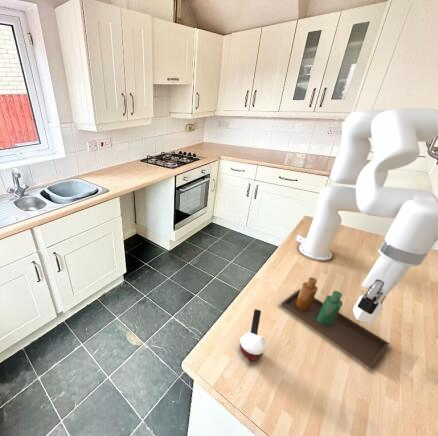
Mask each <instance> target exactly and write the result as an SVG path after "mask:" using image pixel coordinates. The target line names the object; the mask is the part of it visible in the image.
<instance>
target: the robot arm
mask: <svg viewBox="0 0 438 436" xmlns="http://www.w3.org/2000/svg"><path fill="white" fill-rule="evenodd" d="M437 137H438V109H436V108H391V109H362V110H356V111H353V112H351V113H350V114H348V116H347V117H346V118H345V120H344V122H343V124H342V127H341V145H340V148H339V151H338V153H337V156H336V159H335V163H334V165H333V168H332V171H331V175H330V176H331V177H330V178H331V180H332V182H334V183H336V184H340V185H328V186H325V187H323V188H322V189H321V190H320V191H319V194H318V200H317V205H316V209H315V213H314V216H313V219H312V221H311V225H310V227H309V230H308V233H307V236H306V237H303V236H302V235H300V234H298V235H297V236H296V237H295V238H296V242H298V243H300V244H299V246H298V251H300V253H301V254H302V255H304V256H305V257H307V258H309V259H313V260H316V261H320V262H321V261H323V262H324V261H329V260H330V259H332V257H333V253H332V251H331V248H332V245H333V243H334V241H335V239H336V237H337V234H338V232H339V229H340V227H341V225H342V217H341V215H340V214H339V212H350V213H357V214H359V213H360V214H364V215H366V216H371V217H378V218H387V219H394V220H393V221H392V223H391V225H390V227H389V229H388V231H387V233H386V235H385V237H384V238H383V240H382V242H381V244H380V245H379V247H378V250H377V251H378V253H379V255H380V256H379V257H378V258H377V260H375V263H374V264H373V265H372V267H371V269H370V271H369V272H368V274H367V275H366V278H365V279H364V280H363V282H362V284H361V285H362V286H361V287H362V288H365V289H367V291H366V292H365V294H363V295H364V296H363V297H362V299H361V300H360V302H359V304H358V306H357V307H358V308H360V309H362V310H364V311H365V312H367V313H369V314H372V313H373V312H374V310H375V309H376V307H377V306H378V304H379V303H378V301H379V300H380V298H381V297H384V296H385V297H384V299H383V300H382V302H380V303H381V304H382V303H383V302H384V300H385V299H386V297H387V296H388V295H389V294H390V293H391V292H392V290H394V289H395V288H396V287H397V285H398V284H399V283H400V282H401V281H402V280H403V278H404V276H405V275H406V274H407V272H408V271H409V269H410V268H411V267H419V266H421V265H422V263H423V262H424V261H425V259H426V257H427V256H428V255H429V253H430V251H431V250H432V248H433V247H434V246H435V244H436V242H438V197H437V195H436V194H435V193H434V192H432V191H428V190H423V189H414V188H404V187H393V186H384V185H385V184H386V181H387V178H388V175H389V171H394V170H397V169H400V168H403V167H406V166H409V165H410V164H413V162H415V161H416V160H417V159H418V158H419V157H420V154H421V149H420V144H419V143H420V142H421V143H425V142H430V141H432V140H434V139H436V138H437ZM370 139H371V141H370ZM371 142H372V144H371ZM371 150H373V159H368V157H369V155H370V152H371ZM344 185H349V186H344ZM353 186H355V187H353ZM379 290H380V291H382V292H379ZM376 294H378V297H377V298H376V297H375V296H376Z"/></svg>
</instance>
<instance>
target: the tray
mask: <svg viewBox="0 0 438 436" xmlns="http://www.w3.org/2000/svg"><path fill="white" fill-rule="evenodd" d="M300 290H301V288H299V289H298V290H297V291H295V292H294V293H293V294H291V295H290V296H288V297H287V298H286V299H285V300H283V301H282V302H281V305H280V306H281V307H282V308H283V309H285V310H287V311H288V312H290V313H291V314H292V315H293V316H295V317H297V318H298V319H299V320H301V321H302V322H304V323H305V324H306V325H308V326H309V327H311V328H313V330H314V331H317V332H318V333H320V334H321V335H323V336H324V337H325V338H326V339H327V340H330V341H331V342H332V343H334V344H335V345H336V346H338V347H339V348H341V349H343V350H344V351H345V352H347V353H348V354H350V355H351V356H352V357H354V358H355V359H356V360H358V361H359V362H361V363H363V364H364V365H365V366H367V367H368V368H370V369H372V368H373V367H374V365H375V364H376V362H377V361H378V360H379V359H380V357H381V356H382V354H383V353H384V351H385V350H386V349H387V347H388V346H389V345H390V342H388V341H387V340H385V339H384V338H381V337H380V336H378V335H376V334H375V333H373V332H372V331H370V330H369V329H367V328H365V327H364V326H362V325H360V324H358V323H357V322H355V321H353V319H351V318H348V317H347V316H345V315H344V314H343V313H340V312H339V313H338V314H337V316H336V318H335V320H334V322H333V324H332V325H331V326H324V325H322V324H321V323H319V322H318V320H317V315H318V313H319V311H320V309H321V307H322V305H323V303H324V302H322V301H320V300H319V299H317V298H316V297H314V299H313V302H312V304H311V306H310V308H309V310H308V311H302V310H300V309H298V308H297V307H296V305H295V302H296V300H297V297H298V295H299V292H300Z"/></svg>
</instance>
